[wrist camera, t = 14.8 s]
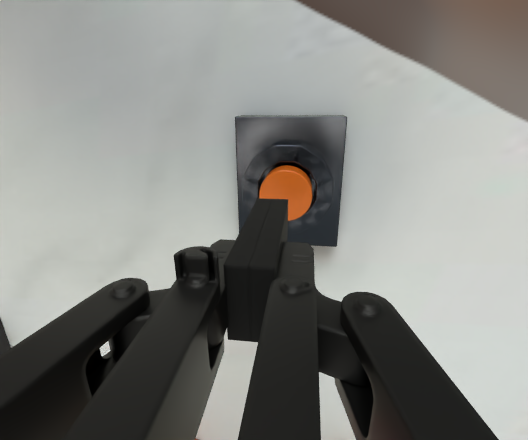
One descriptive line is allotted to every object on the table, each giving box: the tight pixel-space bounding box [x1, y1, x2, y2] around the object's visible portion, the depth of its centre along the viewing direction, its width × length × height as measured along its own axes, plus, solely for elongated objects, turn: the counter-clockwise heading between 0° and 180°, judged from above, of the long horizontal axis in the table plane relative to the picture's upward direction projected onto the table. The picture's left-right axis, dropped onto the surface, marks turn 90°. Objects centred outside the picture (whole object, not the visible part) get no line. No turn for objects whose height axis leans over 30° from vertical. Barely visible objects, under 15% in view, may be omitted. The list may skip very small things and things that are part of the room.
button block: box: [235, 115, 347, 247], centre depth 25 cm, size 10×8×4 cm
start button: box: [259, 165, 312, 221], centre depth 22 cm, size 4×4×2 cm
